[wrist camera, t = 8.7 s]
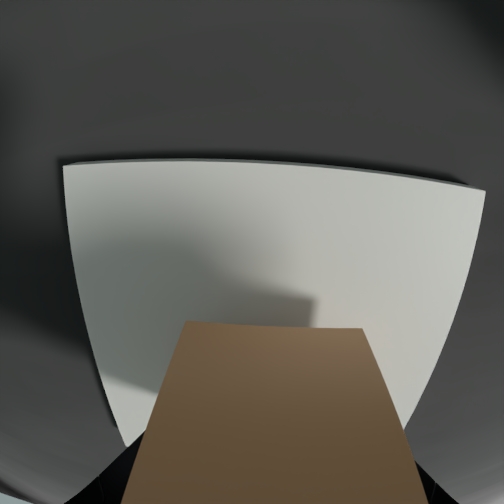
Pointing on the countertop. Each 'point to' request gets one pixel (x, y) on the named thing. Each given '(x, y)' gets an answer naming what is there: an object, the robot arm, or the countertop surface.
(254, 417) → the tan wooden brick
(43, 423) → the countertop surface
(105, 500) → the robot arm
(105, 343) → the post stand
